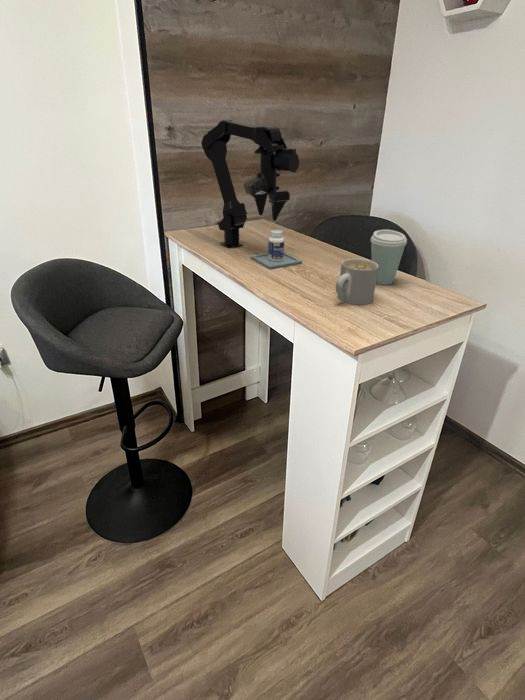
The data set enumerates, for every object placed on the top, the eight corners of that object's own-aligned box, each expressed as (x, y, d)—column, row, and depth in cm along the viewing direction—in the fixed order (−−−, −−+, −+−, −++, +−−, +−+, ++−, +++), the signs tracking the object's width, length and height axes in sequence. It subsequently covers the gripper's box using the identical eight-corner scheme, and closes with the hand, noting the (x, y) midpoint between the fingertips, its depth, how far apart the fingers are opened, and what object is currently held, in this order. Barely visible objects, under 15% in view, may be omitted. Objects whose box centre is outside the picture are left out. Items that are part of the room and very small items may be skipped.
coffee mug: (357, 289, 127) (362, 256, 121) (380, 301, 119) (386, 267, 114) (320, 296, 121) (324, 263, 116) (342, 310, 113) (347, 274, 108)
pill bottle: (272, 262, 144) (273, 233, 139) (265, 258, 148) (265, 230, 143) (286, 260, 146) (287, 232, 141) (278, 256, 150) (279, 228, 146)
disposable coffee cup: (406, 285, 130) (416, 236, 123) (377, 289, 126) (386, 239, 119) (385, 273, 139) (393, 227, 131) (357, 277, 135) (364, 230, 127)
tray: (250, 258, 149) (250, 255, 149) (281, 253, 155) (281, 250, 155) (269, 269, 140) (269, 266, 139) (301, 263, 146) (302, 260, 145)
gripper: (233, 167, 143) (234, 214, 151) (261, 174, 129) (260, 226, 137) (262, 165, 148) (261, 211, 155) (292, 172, 134) (289, 222, 142)
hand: (267, 217), depth 147 cm, fingers open, 9 cm apart
